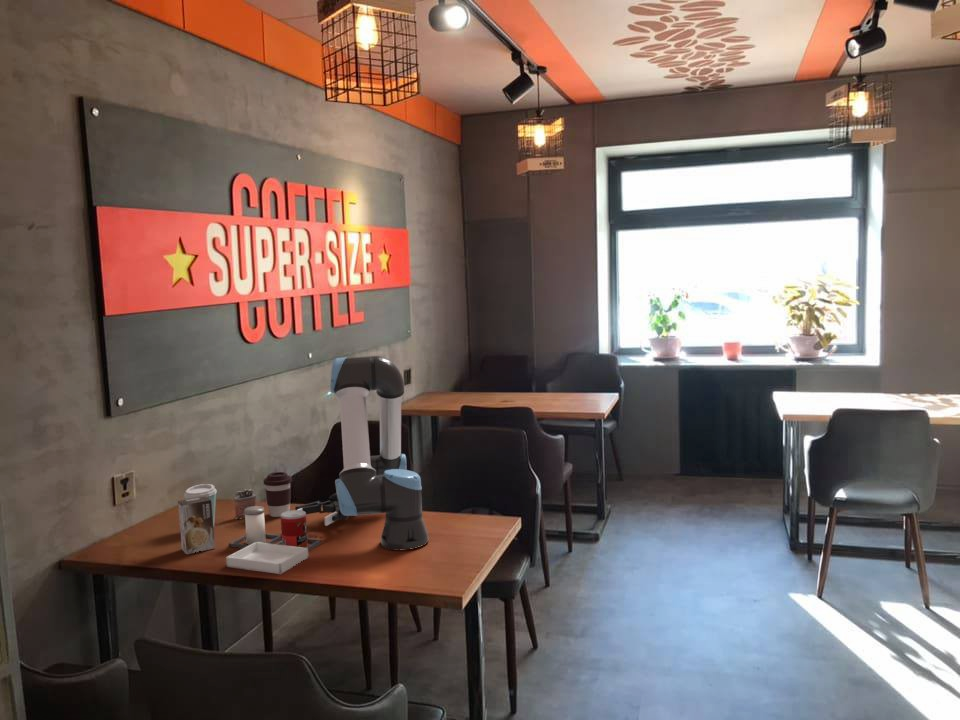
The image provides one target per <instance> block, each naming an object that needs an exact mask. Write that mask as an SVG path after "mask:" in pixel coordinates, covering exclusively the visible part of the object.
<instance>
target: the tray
mask: <svg viewBox="0 0 960 720" xmlns="http://www.w3.org/2000/svg"><path fill="white" fill-rule="evenodd" d="M307 559H309V551H308V548H303V547H295V546H286V545H278V544H276V543H273V544H270V543H267V542H265V543H261V542H255V543H253V544H251V545H249V546H247V547H245V548H240V550H237V551H235V552H234V553H232V554H229V555H227V556H226V557H225V562H226V568H232V569H238V570H239V569H240V570H247V571H253V572H262V573H267V574H268V573H269V574H274V575H275V574H277V575H282V574H284V573H286V572H287V571H288V570H290V569H292V568H293V566H294V567H295V566H297V565H299V564H300V563H301V561H302V562H303V560H304V561H305V560H307ZM298 563H299V564H298ZM296 564H297V565H296Z"/></svg>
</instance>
